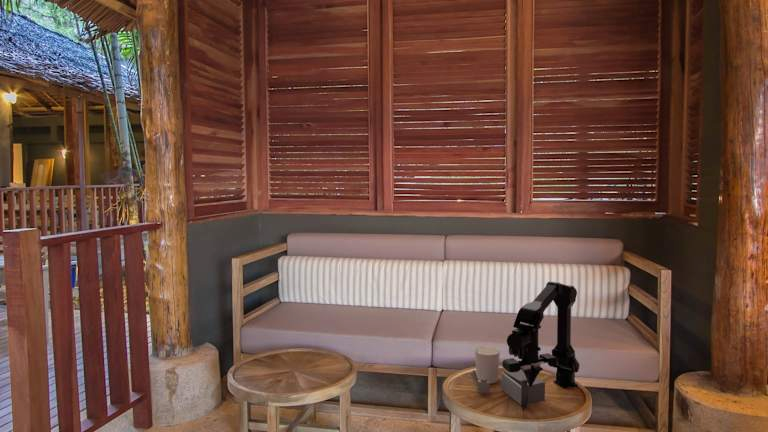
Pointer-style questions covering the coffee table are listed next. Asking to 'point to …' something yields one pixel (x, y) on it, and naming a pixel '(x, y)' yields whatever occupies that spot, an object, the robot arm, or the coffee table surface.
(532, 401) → the block
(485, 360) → the candle holder
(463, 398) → the coffee table surface
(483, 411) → the coffee table surface
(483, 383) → the lighter
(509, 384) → the side door
